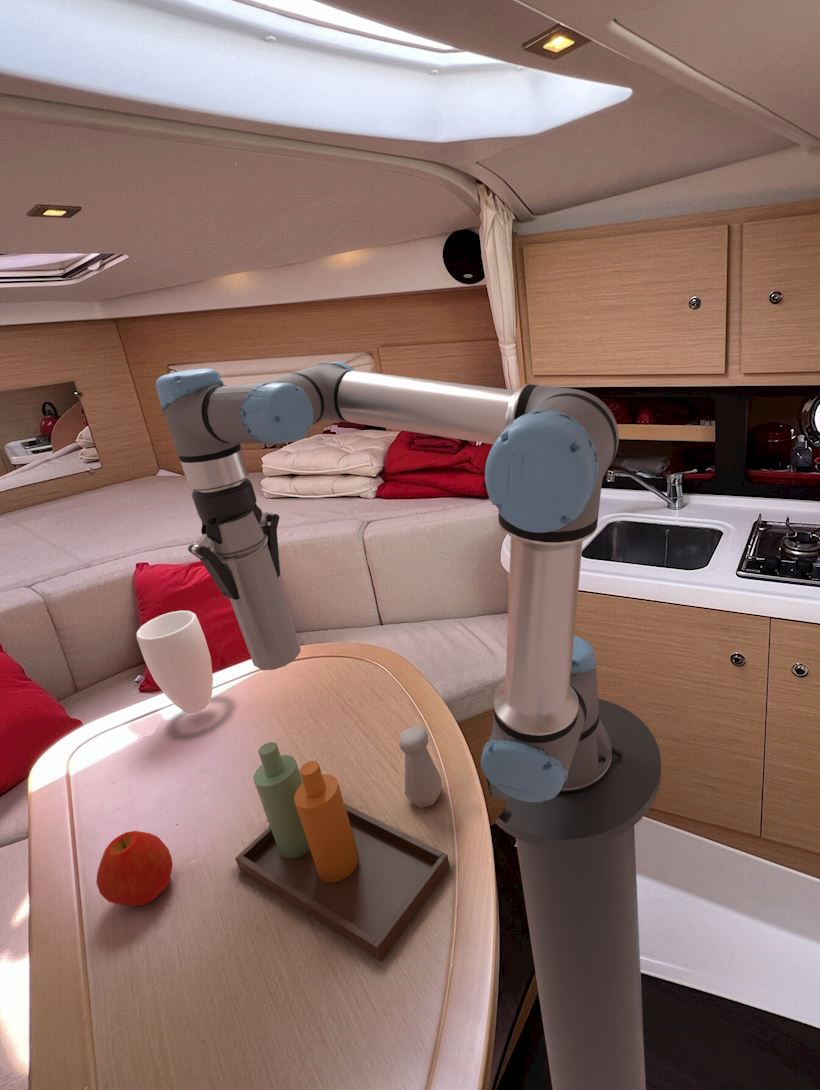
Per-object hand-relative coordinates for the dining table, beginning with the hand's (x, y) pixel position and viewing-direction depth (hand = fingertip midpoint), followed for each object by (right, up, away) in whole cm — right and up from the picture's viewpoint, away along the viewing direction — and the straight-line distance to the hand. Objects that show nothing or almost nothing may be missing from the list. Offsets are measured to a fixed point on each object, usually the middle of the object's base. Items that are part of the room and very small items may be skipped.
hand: (266, 627), depth 92 cm
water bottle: (+1, -6, +2) cm, 7 cm away
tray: (+14, -33, -7) cm, 36 cm away
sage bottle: (+6, -31, -3) cm, 32 cm away
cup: (-25, -23, +26) cm, 43 cm away
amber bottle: (+13, -32, -7) cm, 35 cm away
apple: (-13, -36, -8) cm, 39 cm away
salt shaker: (+24, -28, +4) cm, 37 cm away
